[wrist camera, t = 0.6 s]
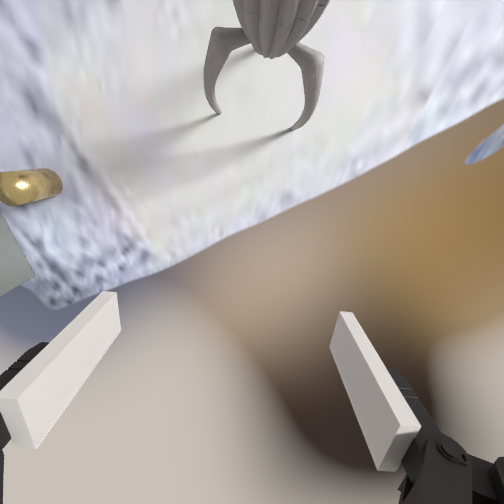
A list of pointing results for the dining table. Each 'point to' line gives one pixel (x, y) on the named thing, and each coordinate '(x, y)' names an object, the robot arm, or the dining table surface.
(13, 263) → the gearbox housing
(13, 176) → the brass slug
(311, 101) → the juicer
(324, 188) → the dining table surface
